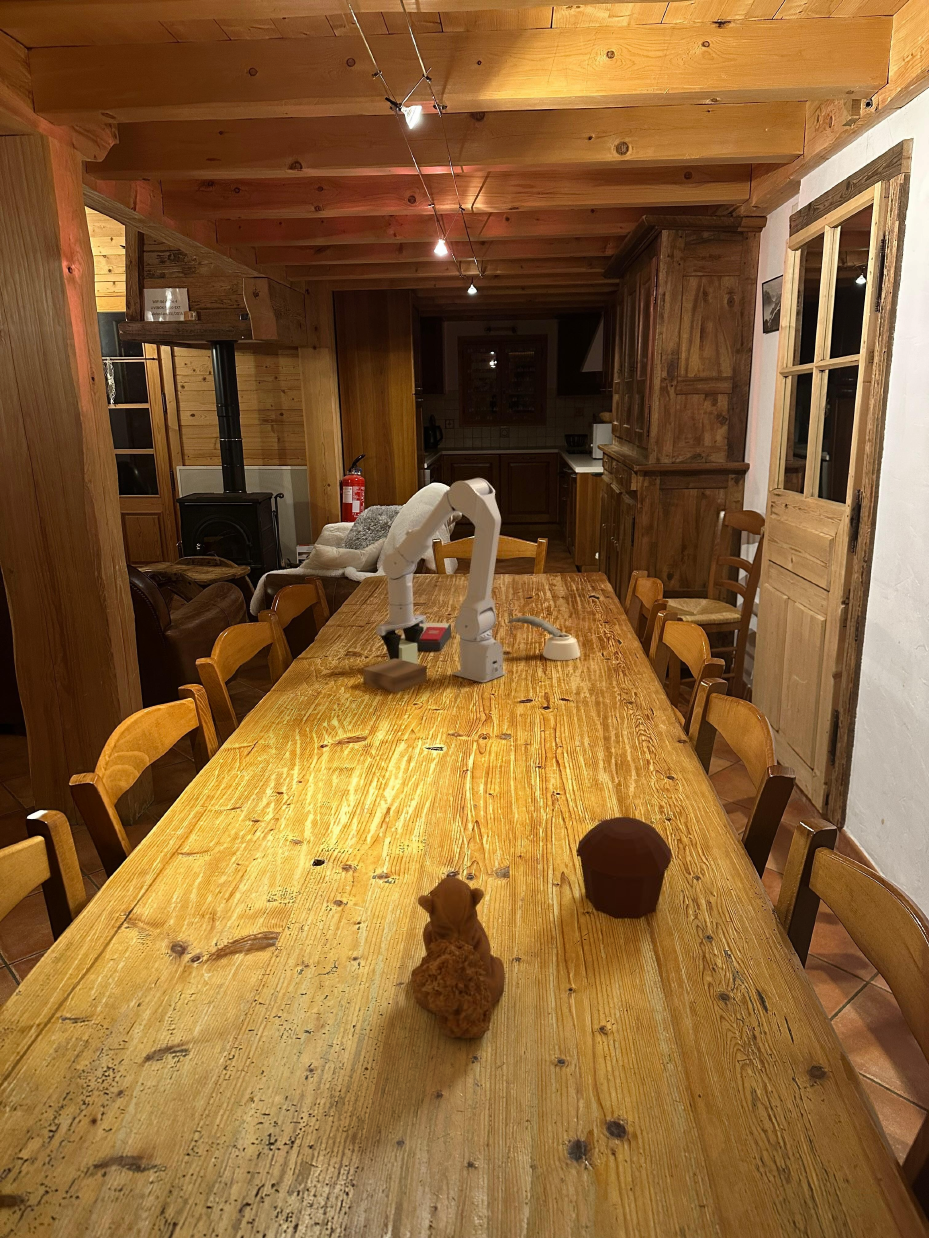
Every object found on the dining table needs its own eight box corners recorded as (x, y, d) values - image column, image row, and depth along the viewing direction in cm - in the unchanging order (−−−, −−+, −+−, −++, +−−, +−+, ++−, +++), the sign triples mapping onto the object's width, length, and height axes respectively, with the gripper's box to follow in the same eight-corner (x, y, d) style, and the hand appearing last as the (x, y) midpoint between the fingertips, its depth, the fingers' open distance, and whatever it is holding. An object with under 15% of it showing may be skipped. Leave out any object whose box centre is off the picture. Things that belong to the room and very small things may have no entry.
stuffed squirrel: (503, 963, 92) (502, 855, 89) (514, 1060, 78) (514, 936, 75) (412, 965, 92) (408, 857, 88) (407, 1063, 78) (402, 940, 75)
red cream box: (397, 637, 211) (411, 620, 225) (398, 653, 212) (411, 635, 226) (440, 639, 209) (451, 621, 223) (440, 655, 210) (451, 636, 224)
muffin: (607, 864, 111) (609, 795, 109) (685, 893, 104) (689, 820, 102) (558, 904, 102) (559, 830, 100) (639, 939, 96) (643, 860, 93)
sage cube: (417, 663, 200) (417, 643, 199) (402, 668, 197) (401, 648, 195) (403, 659, 203) (402, 639, 202) (388, 664, 200) (387, 644, 199)
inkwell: (583, 660, 201) (583, 620, 198) (508, 661, 201) (508, 621, 198) (577, 649, 210) (578, 611, 207) (505, 650, 210) (505, 612, 207)
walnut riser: (427, 683, 187) (426, 666, 186) (395, 695, 180) (394, 677, 179) (395, 674, 193) (394, 658, 192) (363, 685, 186) (362, 668, 185)
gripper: (410, 595, 204) (412, 648, 207) (366, 605, 194) (368, 662, 197) (431, 599, 200) (433, 653, 203) (386, 610, 189) (389, 667, 192)
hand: (402, 658), depth 200 cm, fingers closed on sage cube, 5 cm apart
